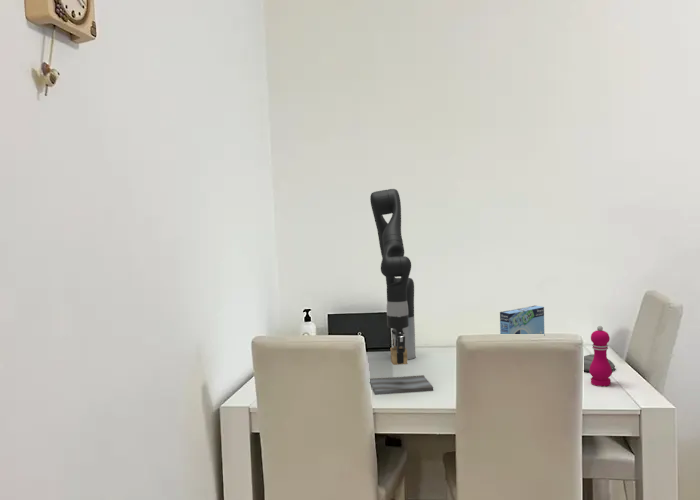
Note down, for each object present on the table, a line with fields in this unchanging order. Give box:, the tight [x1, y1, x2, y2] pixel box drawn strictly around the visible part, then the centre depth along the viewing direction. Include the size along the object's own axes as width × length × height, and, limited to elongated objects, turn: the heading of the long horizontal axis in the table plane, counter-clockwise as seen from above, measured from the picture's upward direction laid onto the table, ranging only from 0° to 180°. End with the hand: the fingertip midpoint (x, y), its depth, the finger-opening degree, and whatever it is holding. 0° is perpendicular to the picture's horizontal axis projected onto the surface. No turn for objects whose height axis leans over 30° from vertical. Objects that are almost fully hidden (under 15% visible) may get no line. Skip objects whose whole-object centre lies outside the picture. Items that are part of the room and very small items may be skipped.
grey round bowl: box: [583, 353, 616, 372], centre depth 244 cm, size 15×15×6 cm
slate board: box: [369, 374, 434, 395], centre depth 230 cm, size 16×20×1 cm
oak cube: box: [390, 346, 408, 366], centre depth 230 cm, size 5×5×5 cm
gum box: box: [499, 305, 545, 335], centre depth 246 cm, size 19×5×23 cm, turn 123°
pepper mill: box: [588, 325, 613, 387], centre depth 223 cm, size 7×7×20 cm
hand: (399, 361), depth 230 cm, fingers closed on oak cube, 5 cm apart
